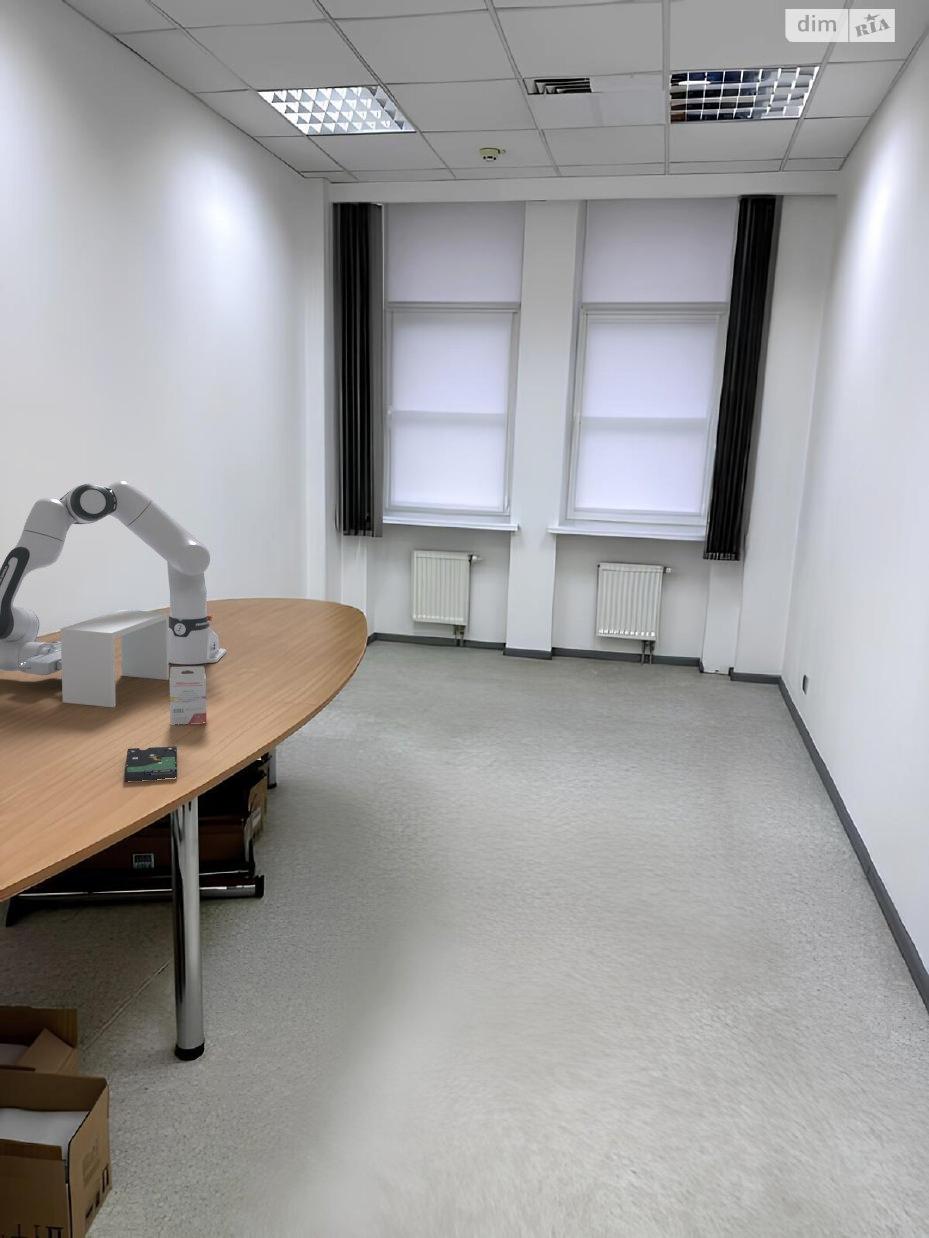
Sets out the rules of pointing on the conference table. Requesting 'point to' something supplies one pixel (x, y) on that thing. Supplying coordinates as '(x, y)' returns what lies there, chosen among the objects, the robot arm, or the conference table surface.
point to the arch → (112, 654)
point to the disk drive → (151, 763)
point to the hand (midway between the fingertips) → (84, 662)
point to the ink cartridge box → (187, 695)
